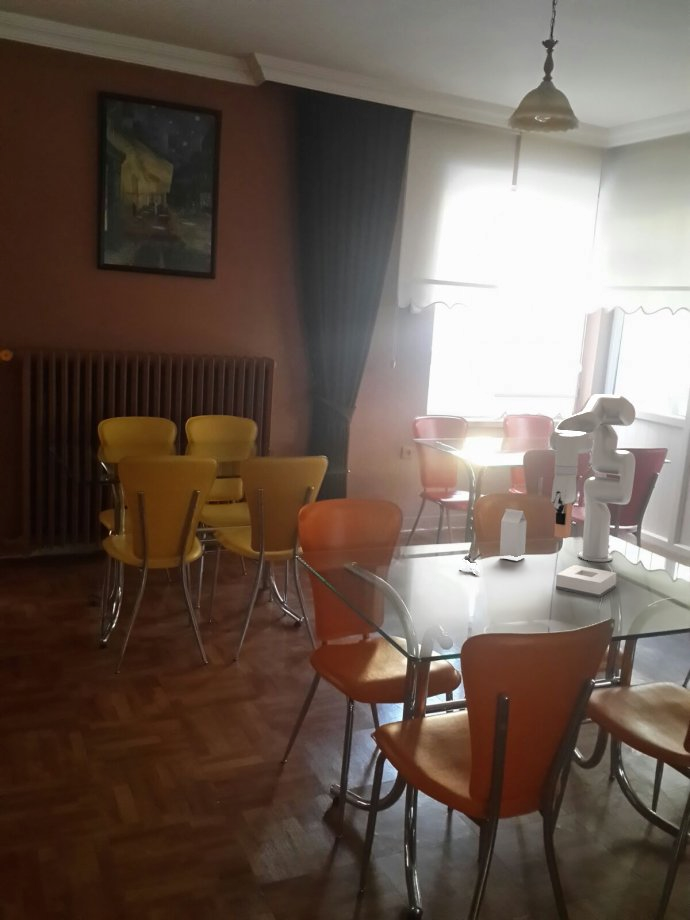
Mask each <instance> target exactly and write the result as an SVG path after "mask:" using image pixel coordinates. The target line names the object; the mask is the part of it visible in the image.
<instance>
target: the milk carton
mask: <svg viewBox="0 0 690 920" xmlns="http://www.w3.org/2000/svg"><path fill="white" fill-rule="evenodd" d="M527 520H528V519H526V517H525V514H524V511H523V510H517V509H510V508H505V512H504V514H503V516H502V519H501V520H500V545H499V556H500V555H511V556H514V557H518V556H521V555H522V554H524V553H525V554H526V539H527V538H526V537H527Z"/></svg>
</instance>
